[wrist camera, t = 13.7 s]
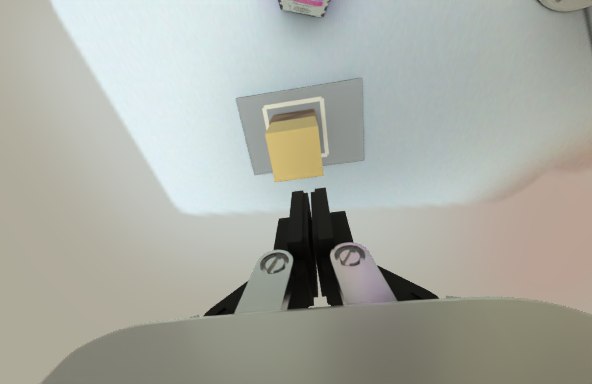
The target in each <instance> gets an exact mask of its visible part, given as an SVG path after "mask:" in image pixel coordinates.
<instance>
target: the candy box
mask: <svg viewBox="0 0 592 384" xmlns="http://www.w3.org/2000/svg"><path fill="white" fill-rule="evenodd" d="M278 2H279V5H280V8H281V10H285V11H290V12H296V13H300V14H305V15H309V16H314V17H321V18H322V17H324V15H325V12H326V10H327V7H328V5H329V2H330V0H278Z"/></svg>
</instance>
